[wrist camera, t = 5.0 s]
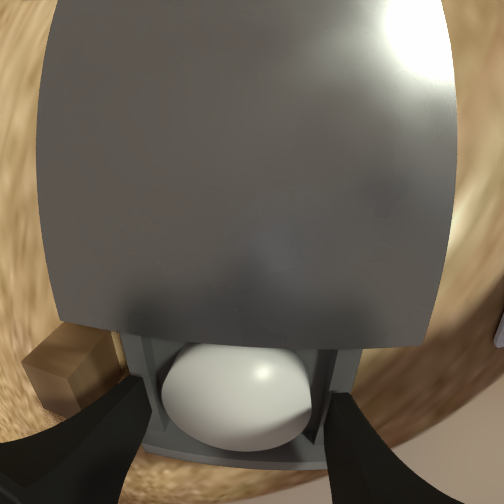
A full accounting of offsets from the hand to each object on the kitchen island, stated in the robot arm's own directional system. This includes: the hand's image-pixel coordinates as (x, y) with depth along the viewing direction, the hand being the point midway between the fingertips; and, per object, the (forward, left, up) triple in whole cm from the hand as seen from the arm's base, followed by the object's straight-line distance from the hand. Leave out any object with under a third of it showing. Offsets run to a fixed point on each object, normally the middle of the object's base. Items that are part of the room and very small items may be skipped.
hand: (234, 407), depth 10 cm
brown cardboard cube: (+8, 0, -3) cm, 8 cm away
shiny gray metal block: (0, -10, -3) cm, 10 cm away
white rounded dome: (0, 0, -1) cm, 1 cm away
